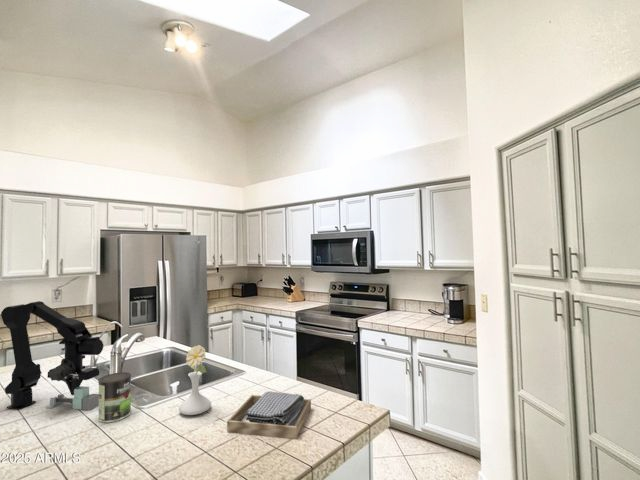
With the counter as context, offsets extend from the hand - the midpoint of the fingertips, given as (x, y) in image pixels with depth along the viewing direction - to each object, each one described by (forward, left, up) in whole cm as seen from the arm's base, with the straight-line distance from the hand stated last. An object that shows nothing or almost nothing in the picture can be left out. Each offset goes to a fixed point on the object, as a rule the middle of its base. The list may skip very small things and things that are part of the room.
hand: (73, 394), depth 133 cm
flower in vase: (+51, +4, -4) cm, 51 cm away
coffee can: (+23, -4, -5) cm, 23 cm away
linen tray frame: (+81, +3, -4) cm, 81 cm away
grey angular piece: (0, 0, -4) cm, 4 cm away
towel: (+82, +3, -5) cm, 83 cm away
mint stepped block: (+4, 0, -4) cm, 6 cm away
